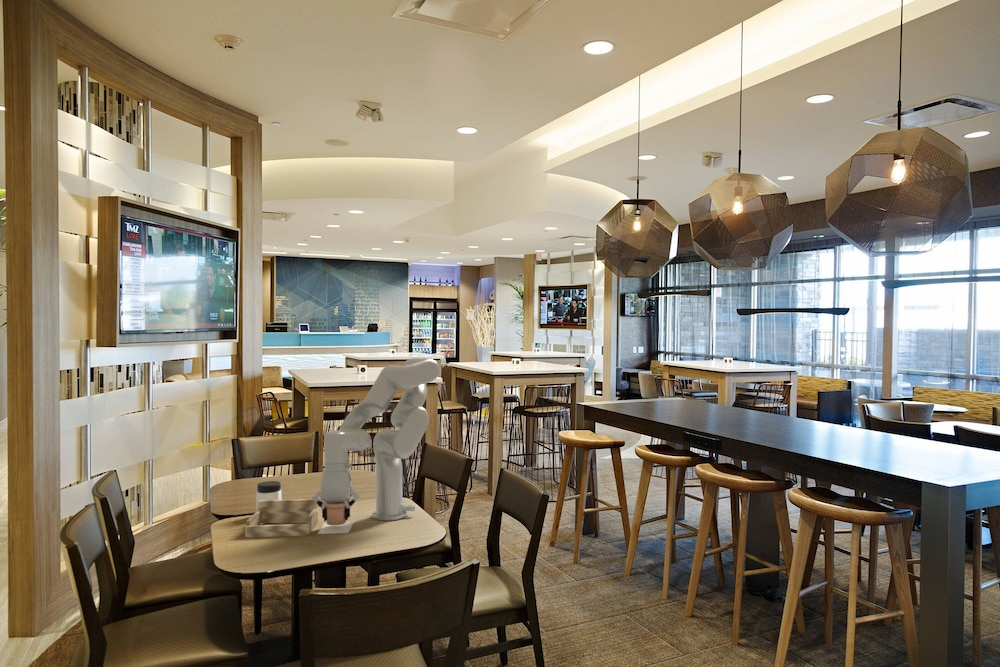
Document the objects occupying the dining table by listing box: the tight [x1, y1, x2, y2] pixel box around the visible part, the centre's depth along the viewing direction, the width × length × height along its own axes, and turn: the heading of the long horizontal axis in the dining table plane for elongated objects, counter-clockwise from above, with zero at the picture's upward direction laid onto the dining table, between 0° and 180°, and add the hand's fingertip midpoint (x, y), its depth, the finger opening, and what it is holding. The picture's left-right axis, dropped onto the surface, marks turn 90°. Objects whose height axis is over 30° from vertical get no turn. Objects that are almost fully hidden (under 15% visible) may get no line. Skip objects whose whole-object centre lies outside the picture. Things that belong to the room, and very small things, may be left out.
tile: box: [317, 521, 354, 535], centre depth 224 cm, size 10×12×1 cm
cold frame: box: [244, 498, 319, 538], centre depth 224 cm, size 20×16×8 cm
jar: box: [255, 480, 283, 511], centre depth 240 cm, size 9×8×12 cm
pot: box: [325, 501, 347, 525], centre depth 224 cm, size 7×7×7 cm
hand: (336, 519), depth 224 cm, fingers closed on pot, 6 cm apart
